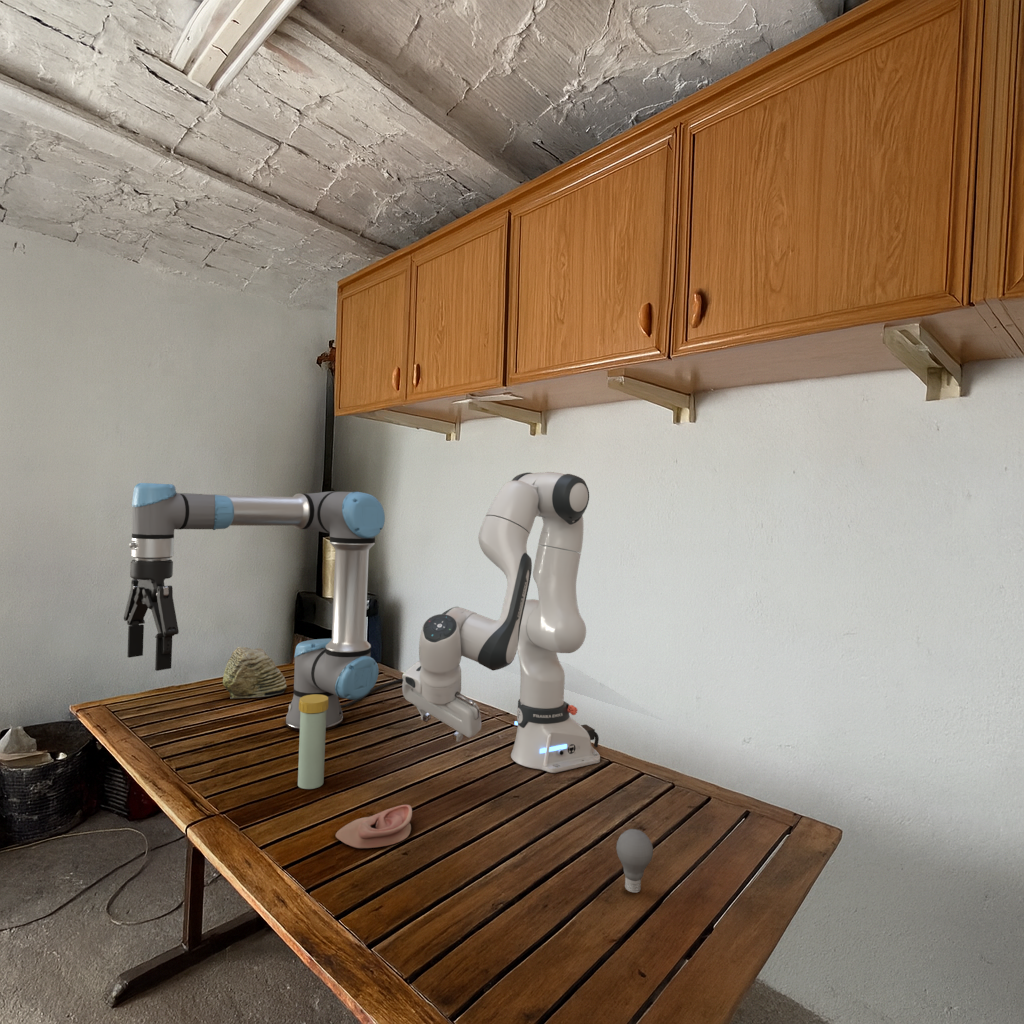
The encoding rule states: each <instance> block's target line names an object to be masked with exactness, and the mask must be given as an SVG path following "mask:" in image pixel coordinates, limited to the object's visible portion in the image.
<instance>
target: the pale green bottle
mask: <svg viewBox="0 0 1024 1024" xmlns="http://www.w3.org/2000/svg"><path fill="white" fill-rule="evenodd" d="M326 732H327V730H326V711H324V712H320V713H303V712H301V711H300V731H299V737H298V738H299V740H298V741H299V742H298V743H299V744H298V763H297V764H298V768H297V769H298V770H297V786H298V788H299V789H304V790H314V789H317V788H320V787H322V786H323V785H324V781H325V780H324V779H325V756H326V734H327V733H326Z"/></svg>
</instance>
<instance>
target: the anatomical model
mask: <svg viewBox="0 0 1024 1024" xmlns="http://www.w3.org/2000/svg"><path fill="white" fill-rule="evenodd" d="M412 817H413V808H412V806H411V805H410V804H401V805H396V806H393V807H390V808H388V809H385V810H382V811H380V812H378V813H375V814H373V815H370V816H364V817H361V818H357V819H355V820H352V821H350V822H349V823H346V824H345V825H344V826H342V827H341V828H340V829H338V830H337V832H335V838H336V839H337V840H338V841H341V842H342V843H344V844H345V845H348V846H349V847H352V848H355V849H372V848H373V849H374V848H381V847H388V846H391V845H395V844H397V843H400V842H402V841H404V840H405V839H408V837H409V836H410V834H411V831H412V824H411V821H412Z"/></svg>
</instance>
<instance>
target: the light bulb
mask: <svg viewBox="0 0 1024 1024" xmlns="http://www.w3.org/2000/svg"><path fill="white" fill-rule="evenodd" d="M615 849H616V854H617V857H618V859H619V861H620V863H621V865H622V867H623V873H624V874H623V875H624V876H625V878H624V888H625V890H627V891H628V892H630V893H634V894H635V893H639V892H640V891H641V889H642V887H641V886H642V879H643V877H644V875H645V871H646V868H647V867H648V866H649V864H650V863H651V861H652V859H653V855H654V847H653V843H652V841H651V838H649V836H648V835H647V834H646V833H645V832H643V831H642V830H641V829H636V828H629V829H627V830H625V831H623V832H622V833H621V834H620V835H619V837H618V839H617V841H616V847H615Z"/></svg>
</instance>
